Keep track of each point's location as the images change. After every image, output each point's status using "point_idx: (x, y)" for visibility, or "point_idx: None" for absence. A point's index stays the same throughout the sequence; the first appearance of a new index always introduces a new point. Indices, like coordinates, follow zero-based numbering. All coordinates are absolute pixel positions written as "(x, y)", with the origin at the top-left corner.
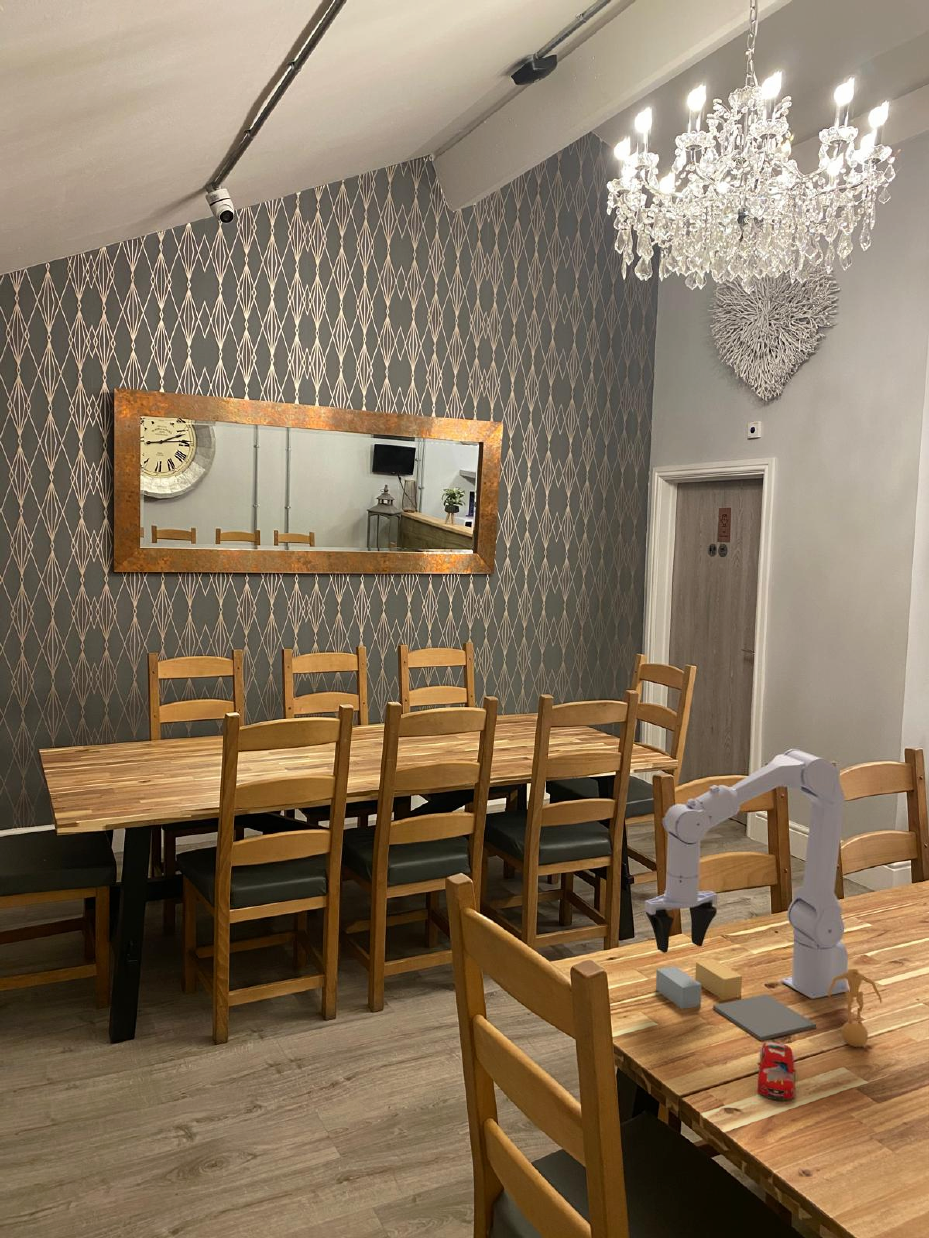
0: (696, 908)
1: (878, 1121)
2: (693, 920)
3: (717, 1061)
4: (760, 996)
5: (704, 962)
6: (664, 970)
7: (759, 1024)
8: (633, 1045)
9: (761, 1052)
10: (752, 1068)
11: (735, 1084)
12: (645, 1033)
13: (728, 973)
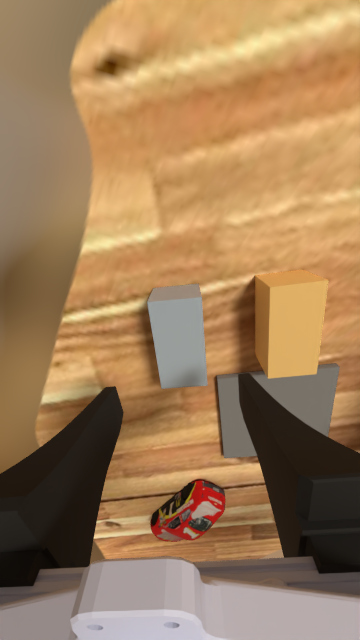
0: (292, 519)
1: (229, 552)
2: (266, 433)
3: (141, 472)
4: (321, 371)
5: (288, 295)
6: (163, 311)
7: (246, 435)
8: (48, 429)
9: (184, 507)
10: (173, 488)
11: (137, 502)
12: (75, 410)
13: (298, 358)
